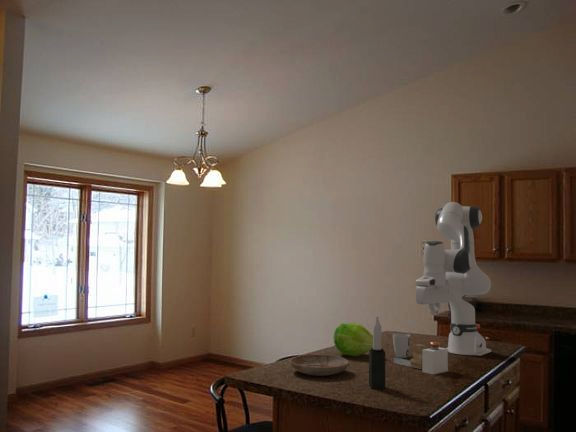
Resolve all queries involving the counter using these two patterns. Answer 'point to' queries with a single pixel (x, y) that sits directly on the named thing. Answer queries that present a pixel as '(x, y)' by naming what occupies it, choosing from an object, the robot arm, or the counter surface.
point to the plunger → (434, 345)
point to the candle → (377, 360)
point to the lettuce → (353, 339)
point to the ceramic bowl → (319, 364)
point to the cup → (401, 344)
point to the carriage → (417, 356)
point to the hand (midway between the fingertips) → (434, 314)
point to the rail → (402, 362)
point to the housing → (434, 360)
